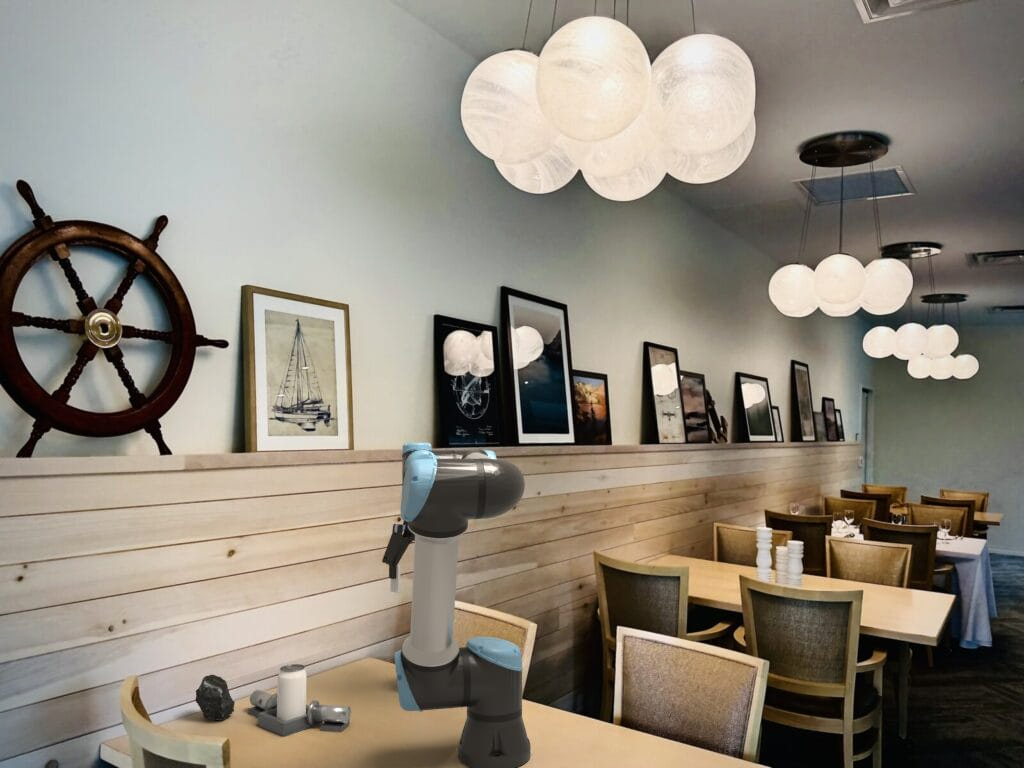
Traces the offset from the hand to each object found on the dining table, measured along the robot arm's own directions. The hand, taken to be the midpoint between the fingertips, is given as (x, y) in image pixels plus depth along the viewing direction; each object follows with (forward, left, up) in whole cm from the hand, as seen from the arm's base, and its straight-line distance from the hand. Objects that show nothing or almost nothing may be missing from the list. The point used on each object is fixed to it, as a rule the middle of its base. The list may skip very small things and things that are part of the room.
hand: (415, 588), depth 186 cm
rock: (+30, +36, -29) cm, 55 cm away
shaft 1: (+24, +27, -29) cm, 46 cm away
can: (+13, +27, -28) cm, 41 cm away
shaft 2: (+4, +22, -29) cm, 36 cm away
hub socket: (+13, +27, -29) cm, 41 cm away
